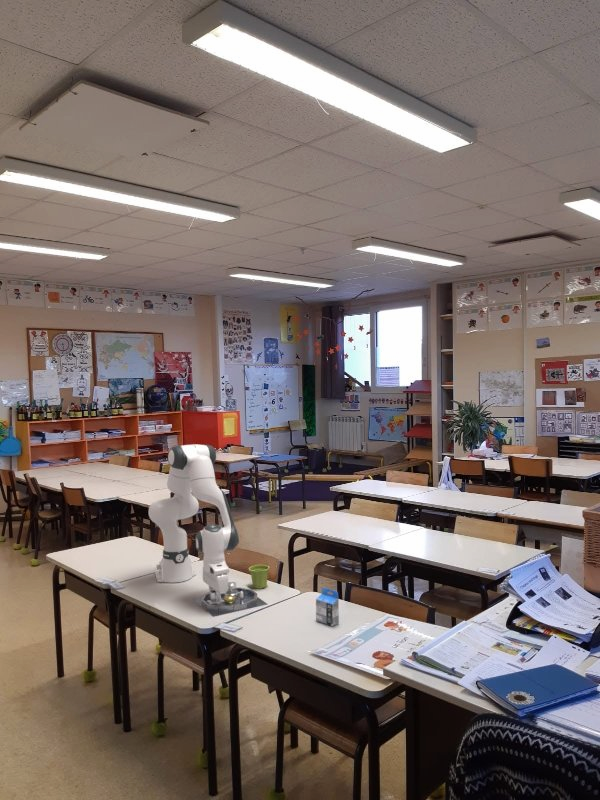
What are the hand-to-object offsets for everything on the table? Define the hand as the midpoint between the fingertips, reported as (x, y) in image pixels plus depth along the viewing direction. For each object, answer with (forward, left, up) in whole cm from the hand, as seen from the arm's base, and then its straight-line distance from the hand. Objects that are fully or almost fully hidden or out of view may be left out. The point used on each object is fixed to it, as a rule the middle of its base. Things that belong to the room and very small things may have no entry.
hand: (215, 598), depth 247 cm
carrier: (0, +6, -4) cm, 7 cm away
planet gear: (0, 0, -3) cm, 3 cm away
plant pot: (-13, +26, -4) cm, 30 cm away
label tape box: (+39, +30, -4) cm, 50 cm away
